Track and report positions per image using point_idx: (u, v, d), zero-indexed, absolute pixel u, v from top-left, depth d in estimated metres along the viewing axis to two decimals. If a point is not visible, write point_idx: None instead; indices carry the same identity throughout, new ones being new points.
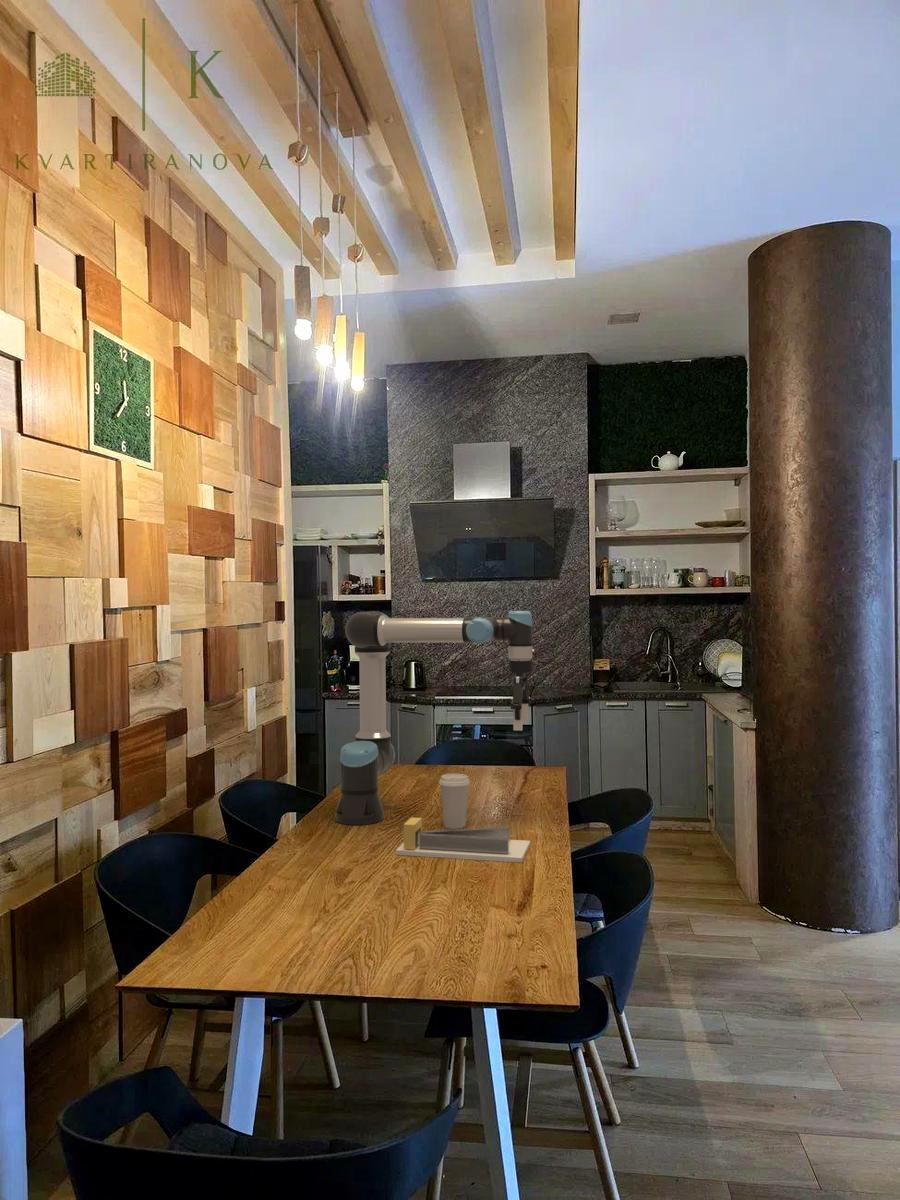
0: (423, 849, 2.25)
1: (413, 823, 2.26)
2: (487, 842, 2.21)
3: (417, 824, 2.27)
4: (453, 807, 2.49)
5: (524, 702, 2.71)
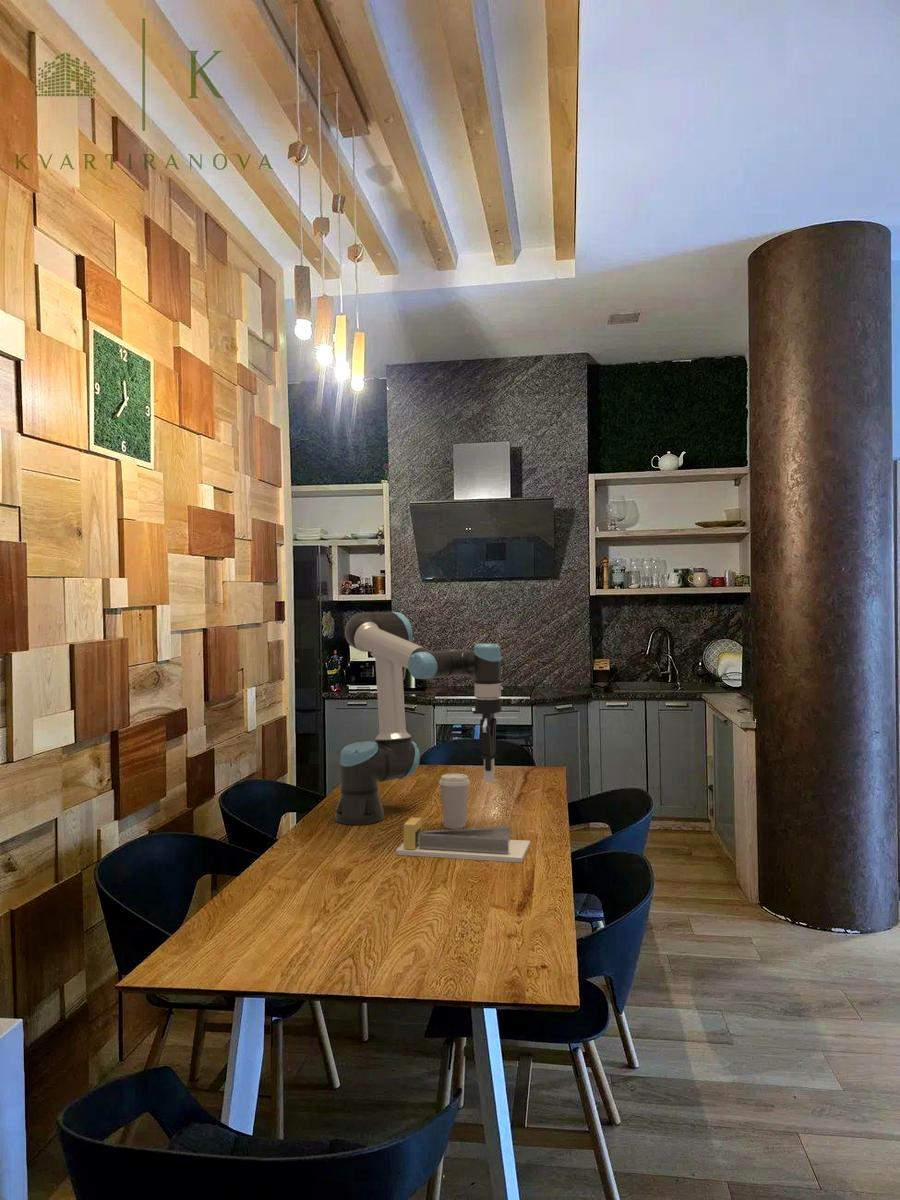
0: (423, 849, 2.25)
1: (413, 823, 2.26)
2: (487, 842, 2.21)
3: (417, 824, 2.27)
4: (453, 807, 2.49)
5: None
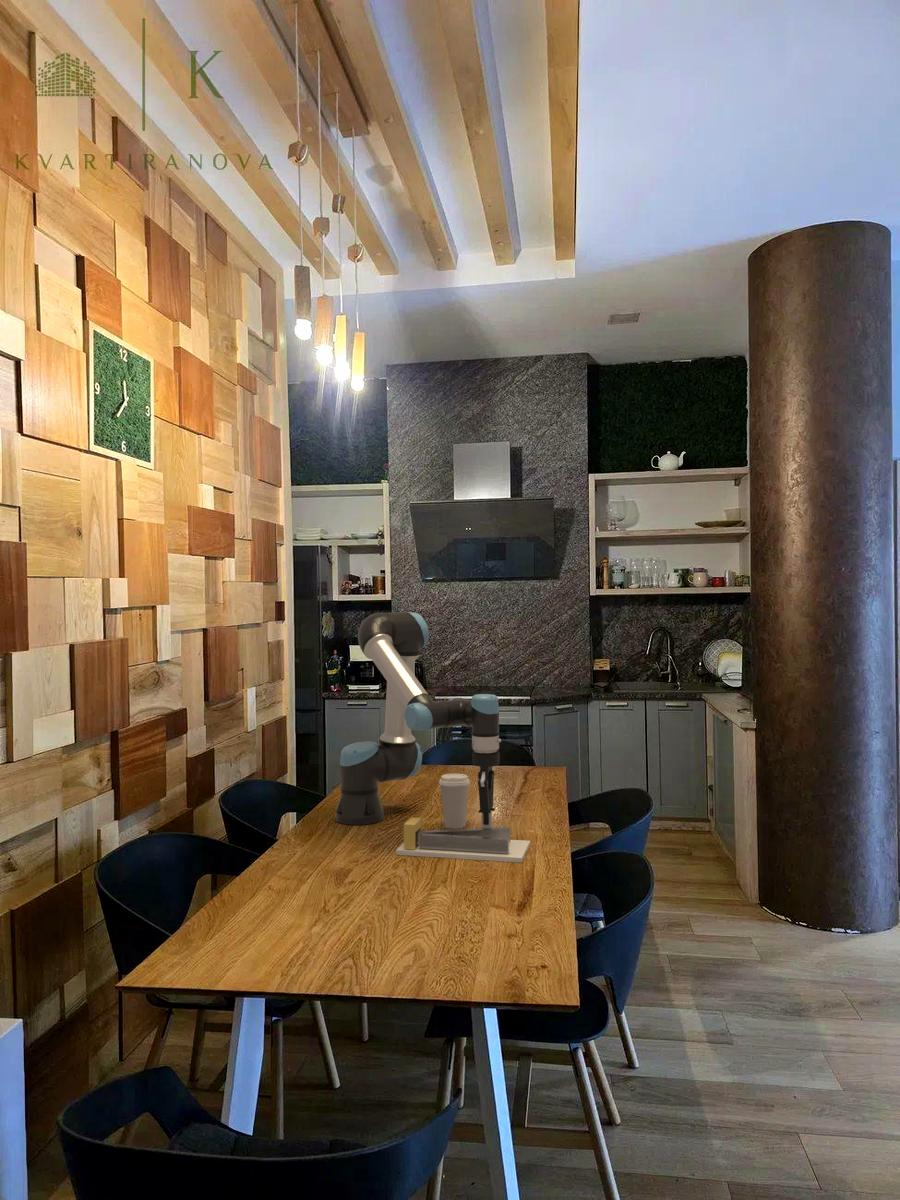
0: (423, 849, 2.25)
1: (413, 823, 2.26)
2: (487, 842, 2.21)
3: (417, 824, 2.27)
4: (453, 807, 2.49)
5: None
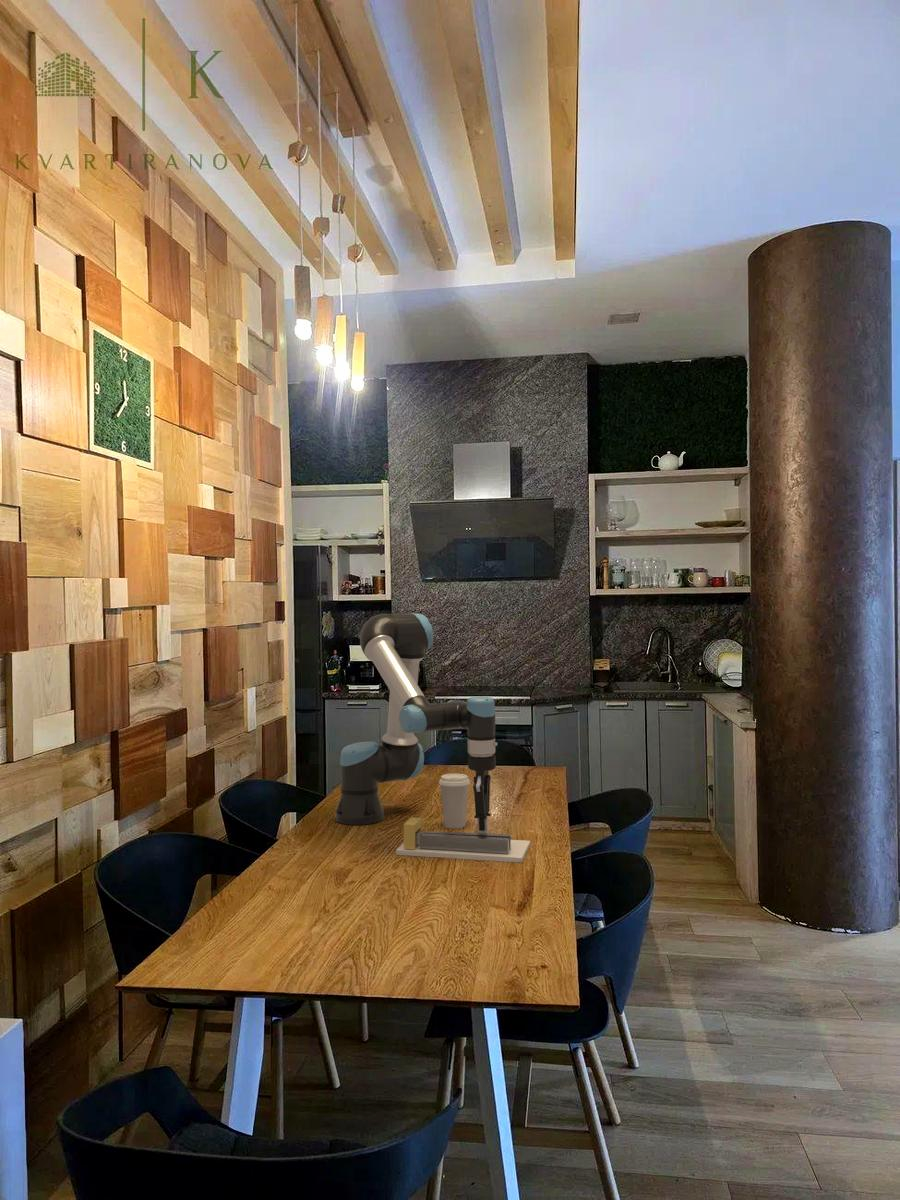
0: (423, 849, 2.25)
1: (413, 823, 2.26)
2: (487, 842, 2.21)
3: (417, 824, 2.27)
4: (453, 807, 2.49)
5: None
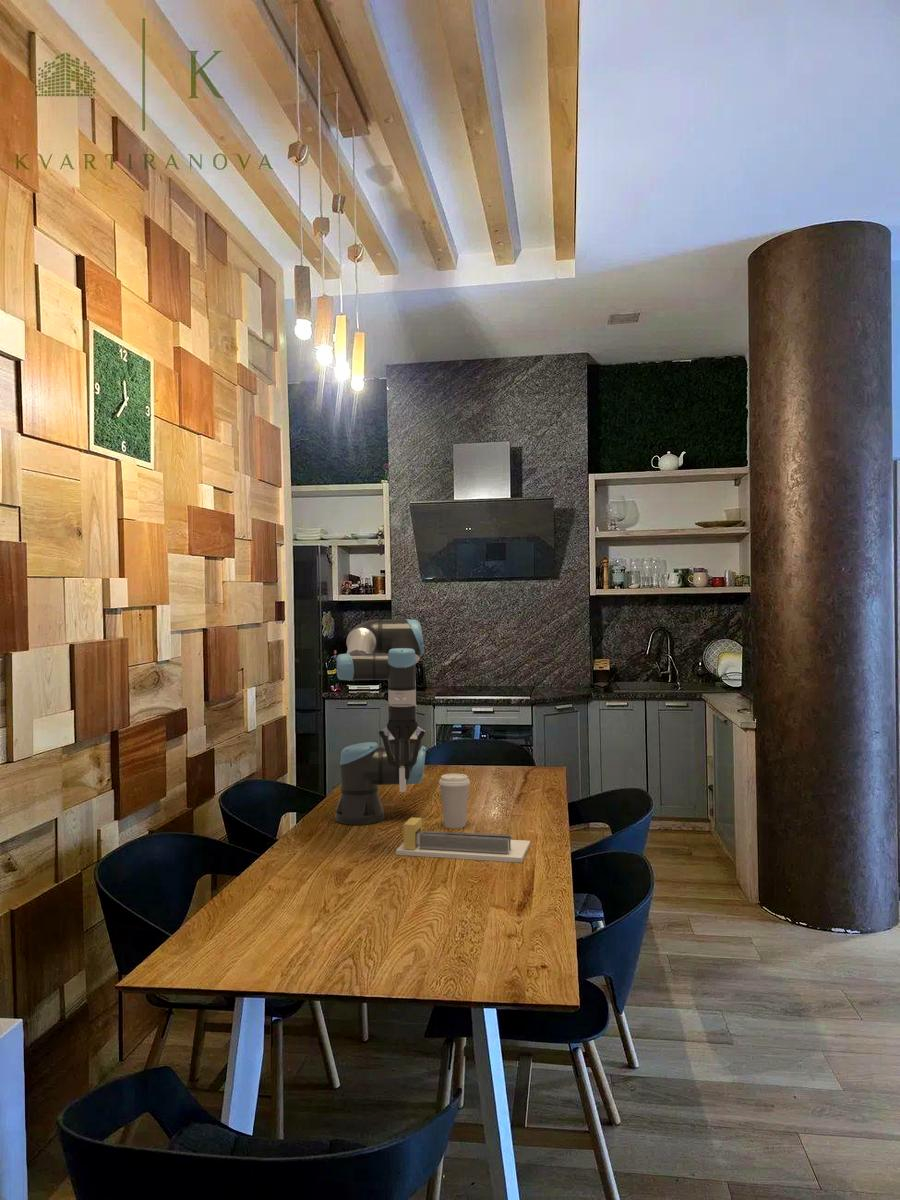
0: (423, 849, 2.25)
1: (413, 823, 2.26)
2: (487, 842, 2.21)
3: (417, 824, 2.27)
4: (453, 807, 2.49)
5: None
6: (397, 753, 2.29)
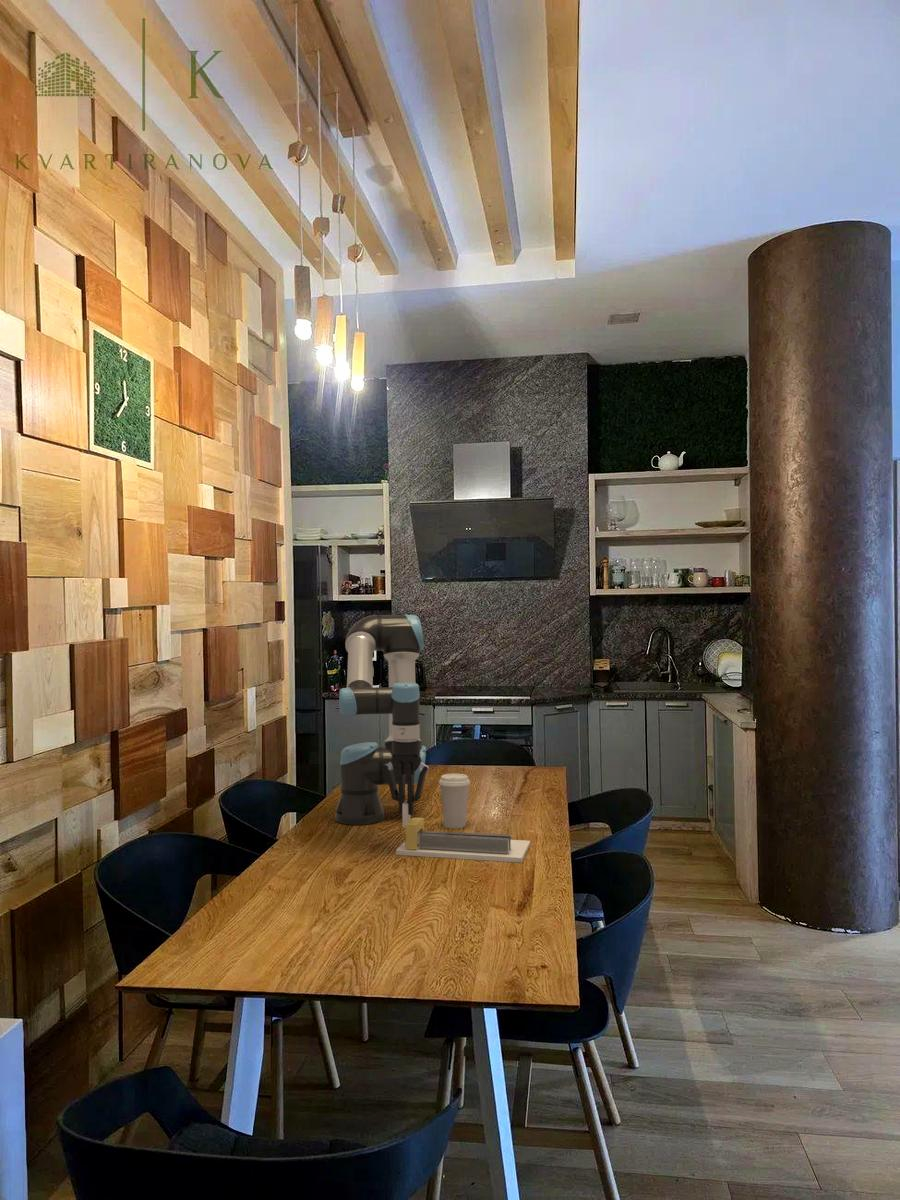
0: (423, 849, 2.25)
1: (415, 823, 2.26)
2: (487, 842, 2.21)
3: (419, 824, 2.27)
4: (453, 807, 2.49)
5: None
6: (400, 788, 2.27)
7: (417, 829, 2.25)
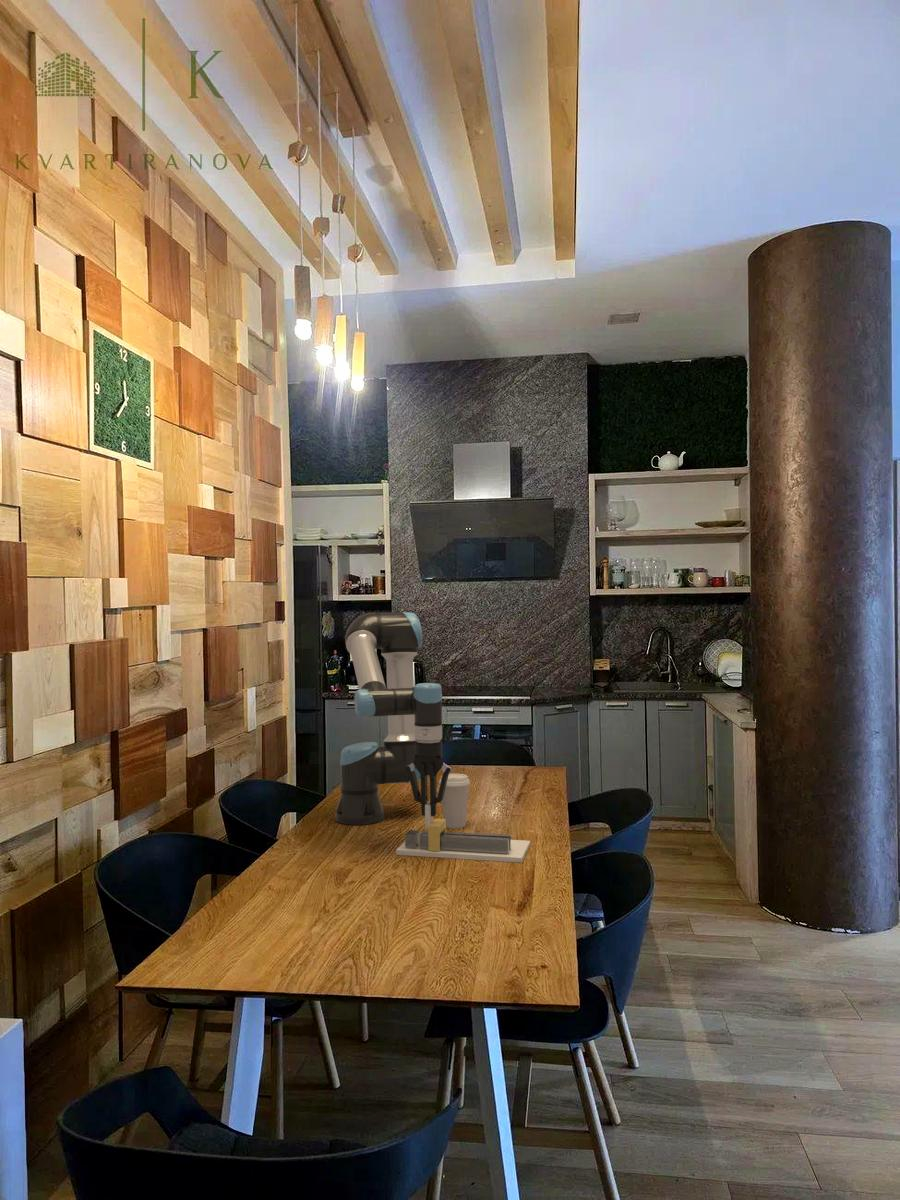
0: (423, 849, 2.25)
1: (438, 824, 2.24)
2: (487, 842, 2.21)
3: (441, 825, 2.25)
4: (453, 807, 2.49)
5: None
6: (423, 789, 2.26)
7: (440, 830, 2.24)
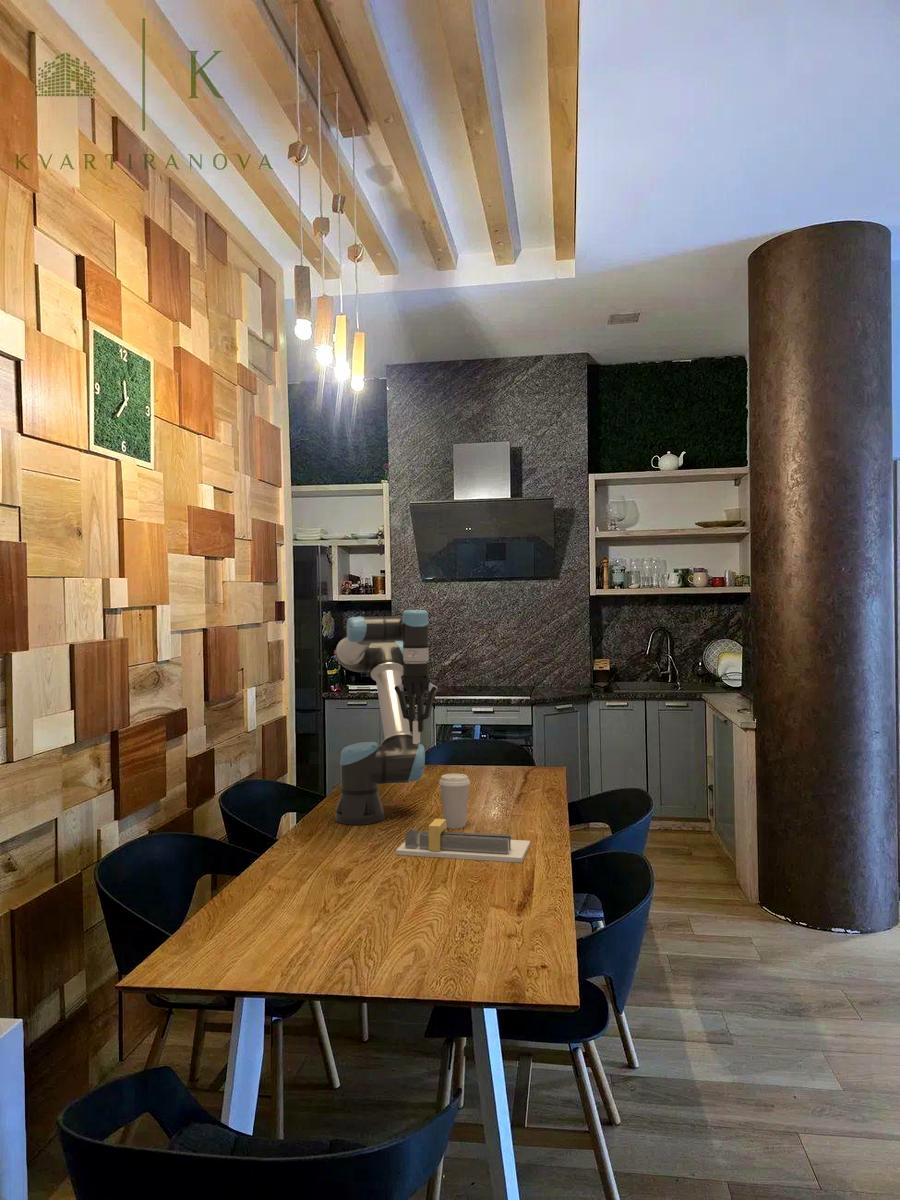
0: (423, 849, 2.25)
1: (438, 824, 2.24)
2: (487, 842, 2.21)
3: (442, 825, 2.25)
4: (453, 807, 2.49)
5: None
6: (411, 707, 2.45)
7: (440, 830, 2.24)
